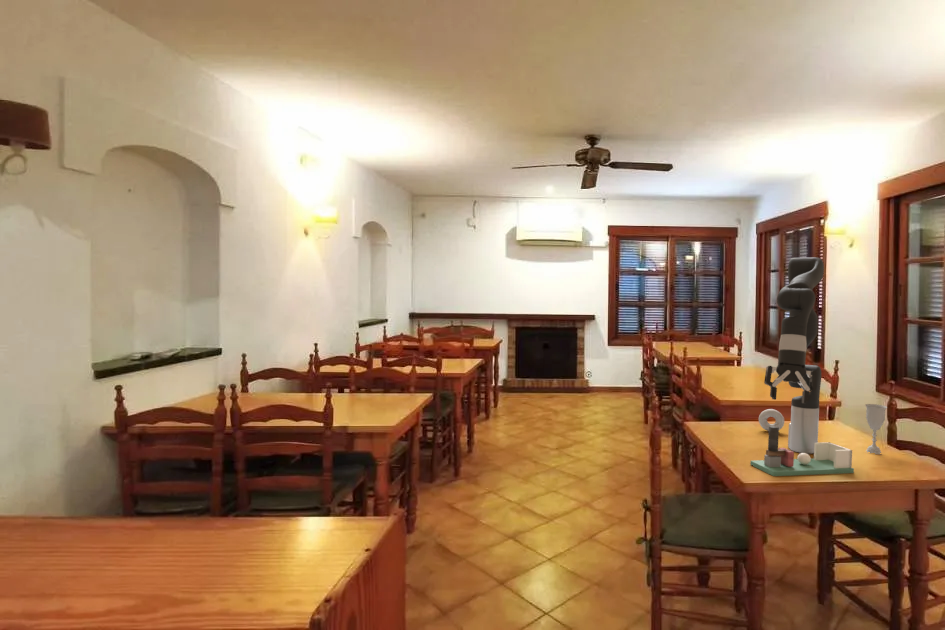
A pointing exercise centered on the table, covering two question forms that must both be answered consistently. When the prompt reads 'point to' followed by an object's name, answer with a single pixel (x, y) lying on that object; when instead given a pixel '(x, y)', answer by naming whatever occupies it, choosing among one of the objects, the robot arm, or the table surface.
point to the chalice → (875, 423)
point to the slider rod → (773, 450)
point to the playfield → (797, 467)
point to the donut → (771, 413)
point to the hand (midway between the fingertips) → (788, 401)
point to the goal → (833, 454)
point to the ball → (804, 458)
